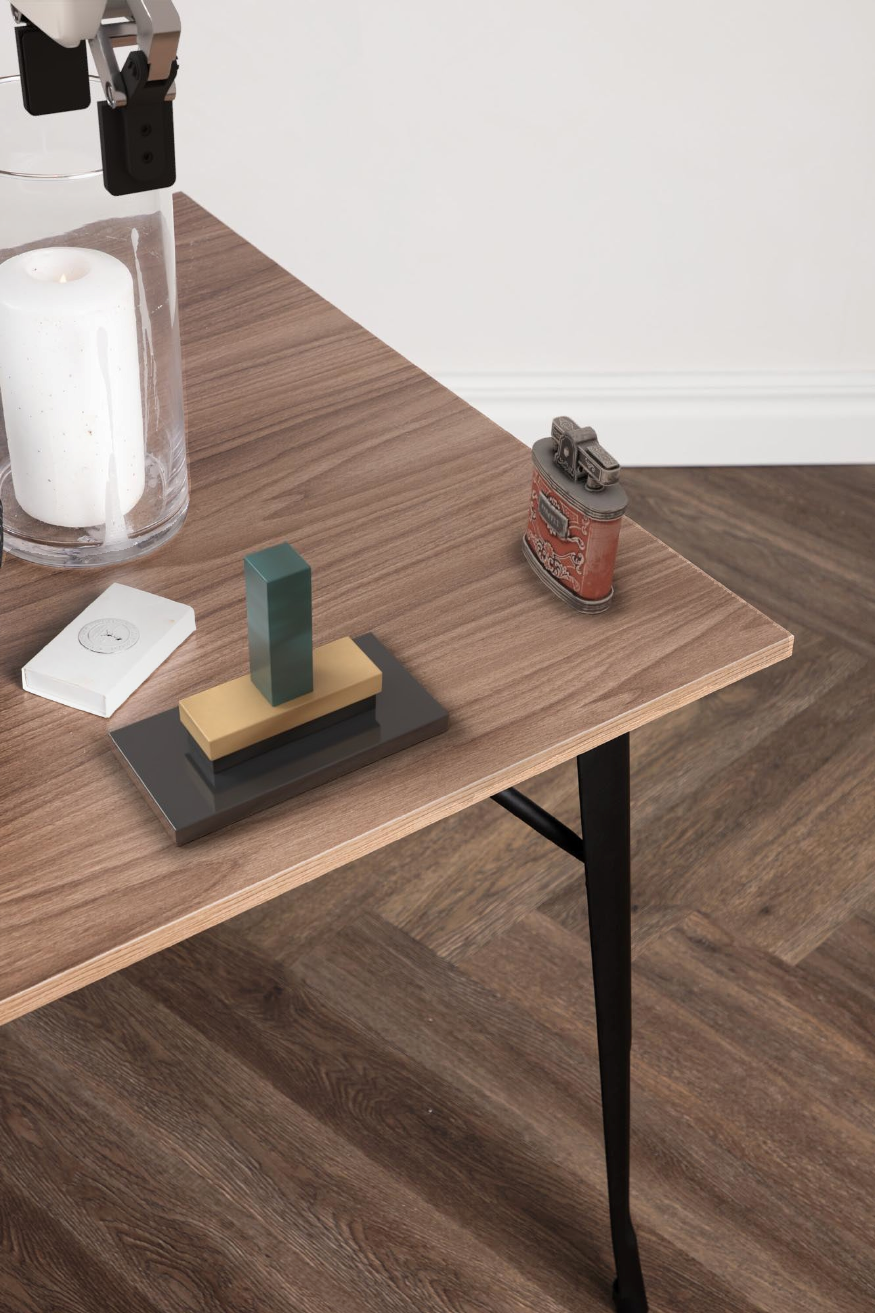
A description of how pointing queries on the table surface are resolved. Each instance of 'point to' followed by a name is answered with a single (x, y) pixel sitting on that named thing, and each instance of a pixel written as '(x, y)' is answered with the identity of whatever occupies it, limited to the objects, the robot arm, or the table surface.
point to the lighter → (574, 516)
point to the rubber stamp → (279, 671)
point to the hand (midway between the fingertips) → (97, 147)
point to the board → (271, 755)
